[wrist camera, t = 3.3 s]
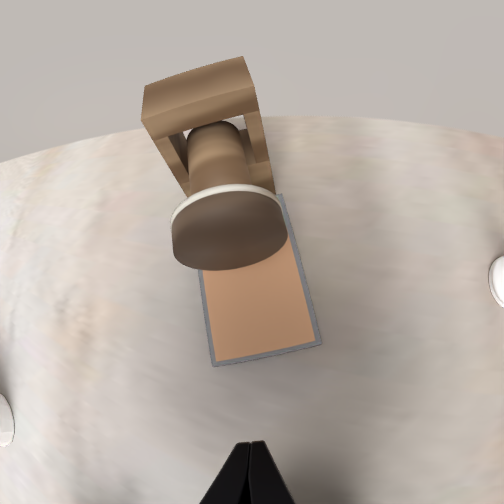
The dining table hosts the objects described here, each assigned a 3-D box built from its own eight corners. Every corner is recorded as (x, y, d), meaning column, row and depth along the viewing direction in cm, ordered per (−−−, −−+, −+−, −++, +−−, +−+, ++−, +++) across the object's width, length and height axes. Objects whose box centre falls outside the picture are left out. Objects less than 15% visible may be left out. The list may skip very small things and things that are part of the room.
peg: (291, 255, 20) (284, 200, 14) (195, 278, 21) (152, 235, 15) (264, 157, 24) (250, 93, 18) (185, 179, 24) (152, 122, 18)
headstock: (276, 196, 27) (254, 86, 16) (199, 216, 28) (140, 120, 17) (266, 163, 29) (242, 56, 18) (195, 182, 29) (144, 86, 18)
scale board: (321, 344, 22) (321, 343, 21) (214, 366, 22) (211, 366, 21) (282, 197, 27) (281, 192, 26) (194, 219, 28) (191, 215, 27)
